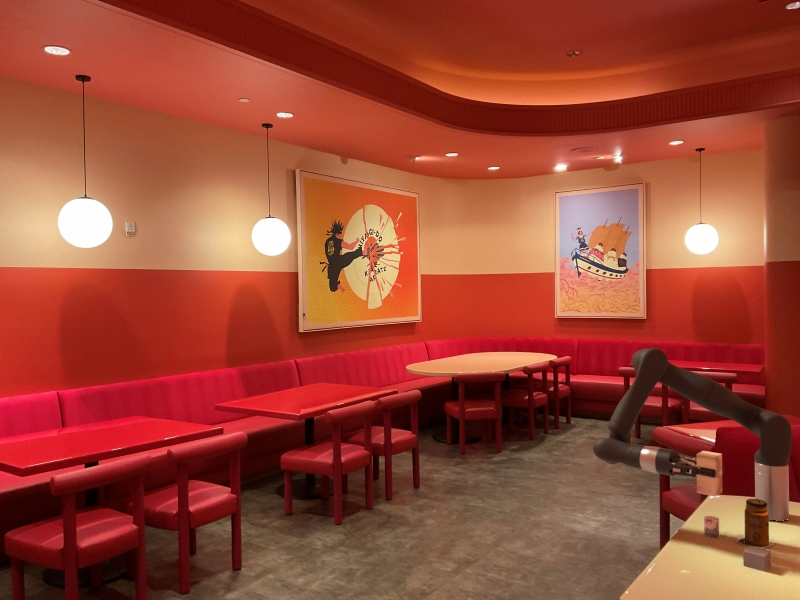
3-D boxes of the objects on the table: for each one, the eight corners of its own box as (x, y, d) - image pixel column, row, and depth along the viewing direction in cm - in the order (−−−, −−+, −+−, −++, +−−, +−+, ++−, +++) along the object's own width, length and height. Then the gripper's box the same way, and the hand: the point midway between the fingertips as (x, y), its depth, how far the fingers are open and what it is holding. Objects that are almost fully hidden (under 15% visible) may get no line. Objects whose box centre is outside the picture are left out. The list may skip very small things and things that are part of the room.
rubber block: (749, 560, 170) (749, 545, 169) (770, 566, 166) (770, 550, 166) (743, 566, 166) (743, 551, 166) (764, 572, 162) (764, 556, 162)
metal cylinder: (707, 531, 190) (707, 514, 190) (721, 535, 187) (721, 518, 187) (702, 535, 187) (701, 518, 187) (716, 538, 184) (716, 521, 184)
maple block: (703, 488, 182) (703, 450, 182) (722, 492, 178) (721, 453, 178) (696, 492, 179) (696, 454, 178) (715, 496, 175) (715, 457, 175)
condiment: (775, 544, 180) (775, 502, 180) (760, 551, 175) (759, 508, 175) (749, 536, 186) (749, 495, 186) (733, 542, 181) (733, 501, 181)
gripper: (648, 452, 184) (709, 463, 171) (669, 443, 194) (728, 453, 181) (648, 478, 184) (709, 490, 171) (669, 467, 194) (729, 479, 181)
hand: (719, 471), depth 176 cm, fingers closed on maple block, 5 cm apart
